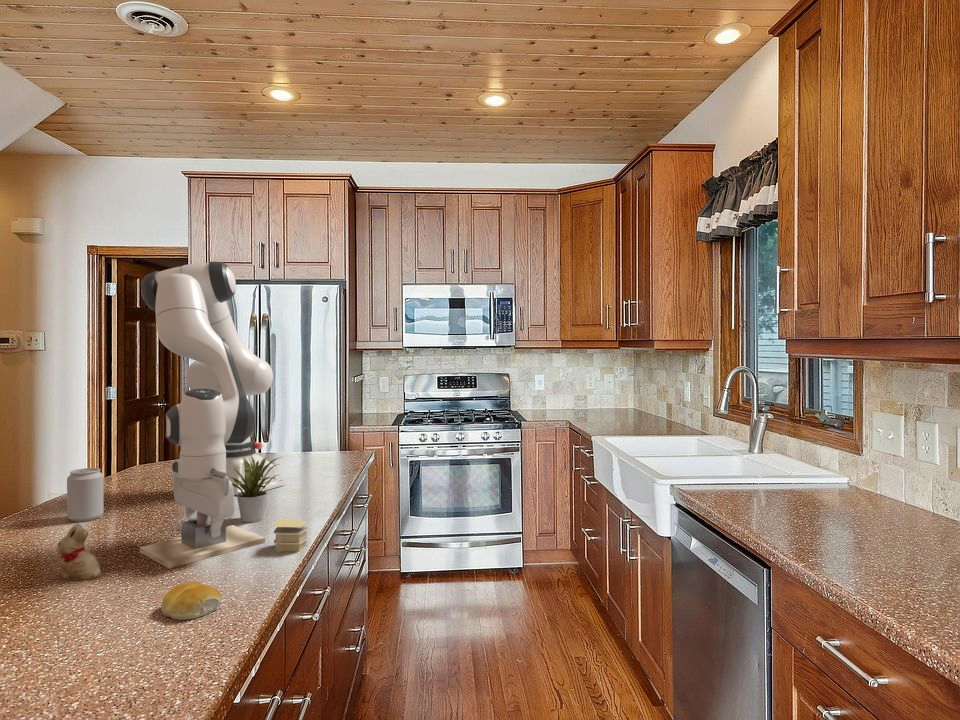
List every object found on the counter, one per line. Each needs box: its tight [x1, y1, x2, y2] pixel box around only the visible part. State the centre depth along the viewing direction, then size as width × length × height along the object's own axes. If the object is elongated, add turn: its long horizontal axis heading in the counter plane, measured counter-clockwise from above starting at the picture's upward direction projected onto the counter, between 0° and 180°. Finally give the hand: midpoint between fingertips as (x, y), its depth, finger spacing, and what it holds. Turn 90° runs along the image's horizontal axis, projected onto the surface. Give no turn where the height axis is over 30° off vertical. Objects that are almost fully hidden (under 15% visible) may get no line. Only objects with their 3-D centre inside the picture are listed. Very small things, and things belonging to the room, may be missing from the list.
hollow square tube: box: [180, 519, 227, 550], centre depth 125 cm, size 6×6×4 cm
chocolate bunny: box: [57, 523, 102, 582], centre depth 109 cm, size 6×8×10 cm
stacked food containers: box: [273, 518, 309, 552], centre depth 125 cm, size 10×9×6 cm
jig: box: [139, 511, 266, 569], centre depth 125 cm, size 20×14×8 cm
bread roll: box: [160, 581, 222, 621], centre depth 96 cm, size 8×9×4 cm
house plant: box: [226, 453, 284, 523], centre depth 145 cm, size 14×14×16 cm
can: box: [66, 467, 105, 523], centre depth 145 cm, size 8×8×12 cm
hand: (203, 531), depth 125 cm, fingers open, 8 cm apart
